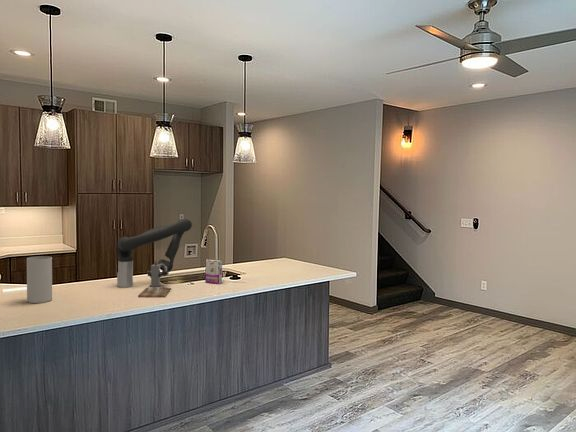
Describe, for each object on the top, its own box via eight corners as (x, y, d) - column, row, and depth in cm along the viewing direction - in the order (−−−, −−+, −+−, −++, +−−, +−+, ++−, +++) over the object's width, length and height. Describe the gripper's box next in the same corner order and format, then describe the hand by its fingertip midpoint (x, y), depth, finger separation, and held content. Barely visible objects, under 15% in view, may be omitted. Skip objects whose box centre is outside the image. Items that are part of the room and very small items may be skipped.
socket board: (138, 297, 258) (138, 289, 258) (146, 289, 278) (146, 282, 278) (165, 297, 260) (165, 289, 259) (171, 289, 280) (171, 282, 279)
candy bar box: (222, 283, 304) (222, 260, 303) (218, 284, 300) (219, 261, 299) (208, 281, 308) (209, 259, 307) (205, 282, 303) (205, 260, 302)
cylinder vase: (49, 303, 240) (48, 259, 239) (24, 304, 237) (23, 259, 235) (54, 297, 252) (54, 256, 251) (30, 298, 249) (30, 256, 247)
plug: (151, 287, 266) (151, 261, 265) (152, 286, 271) (152, 259, 270) (158, 287, 267) (158, 261, 266) (160, 286, 271) (160, 259, 270)
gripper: (149, 264, 282) (143, 269, 265) (171, 264, 283) (166, 269, 266) (149, 275, 282) (143, 281, 265) (171, 275, 283) (166, 281, 266)
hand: (154, 275), depth 266 cm, fingers closed on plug, 4 cm apart
